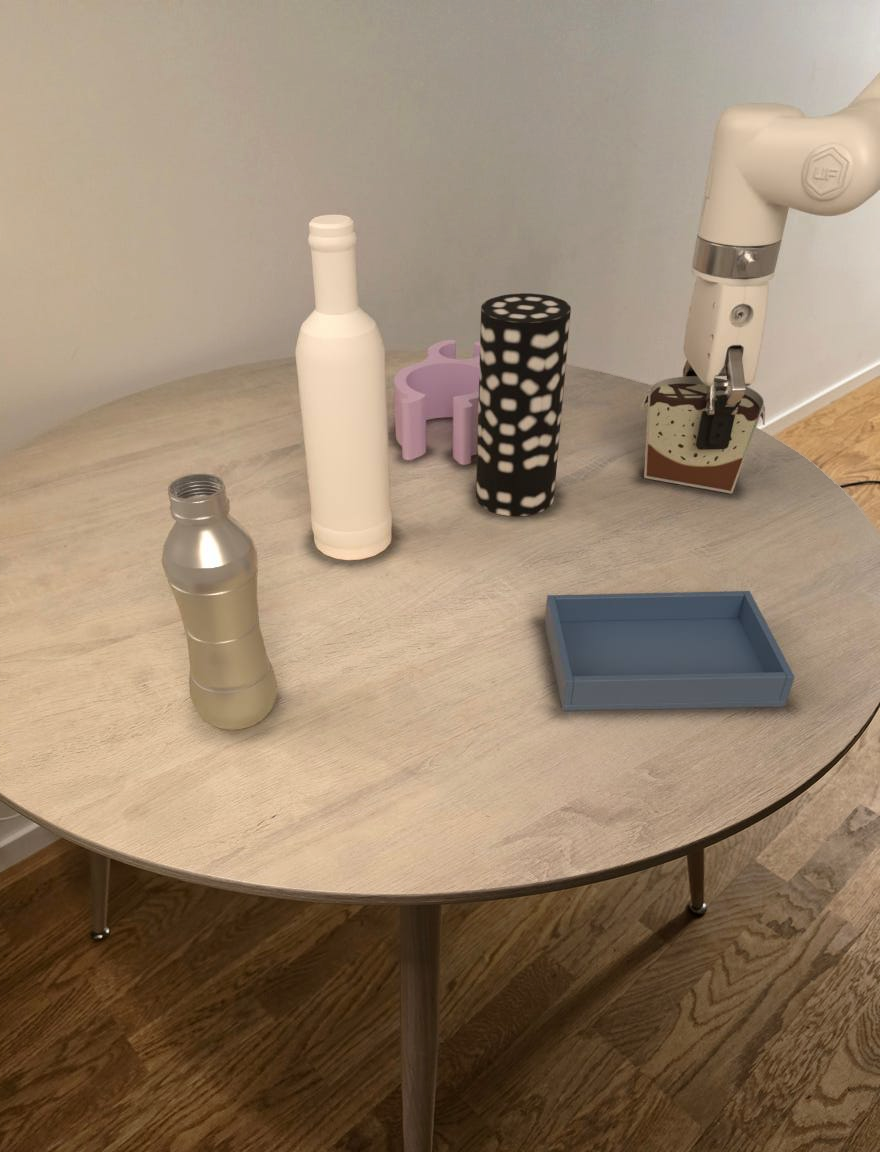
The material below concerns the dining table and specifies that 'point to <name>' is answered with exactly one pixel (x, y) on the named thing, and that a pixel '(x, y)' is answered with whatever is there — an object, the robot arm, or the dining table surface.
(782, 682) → the tray
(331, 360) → the bottle
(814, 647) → the dining table surface
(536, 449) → the white-spotted black cylinder
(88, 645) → the dining table surface
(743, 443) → the food container
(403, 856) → the dining table surface
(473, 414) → the clip
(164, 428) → the dining table surface
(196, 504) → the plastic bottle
